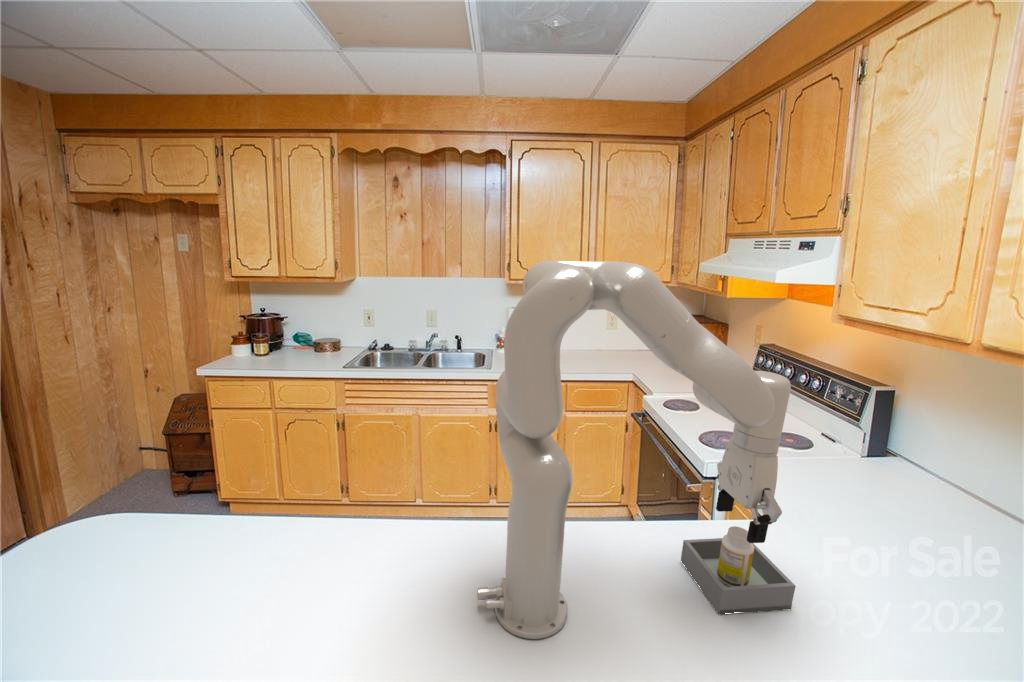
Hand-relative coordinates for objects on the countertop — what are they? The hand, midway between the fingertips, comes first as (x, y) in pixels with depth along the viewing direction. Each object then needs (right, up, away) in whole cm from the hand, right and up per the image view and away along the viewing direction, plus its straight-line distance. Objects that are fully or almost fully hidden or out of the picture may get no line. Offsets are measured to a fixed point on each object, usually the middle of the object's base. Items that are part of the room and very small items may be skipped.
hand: (738, 525), depth 88 cm
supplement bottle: (0, -12, +3) cm, 12 cm away
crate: (0, -12, +3) cm, 13 cm away
